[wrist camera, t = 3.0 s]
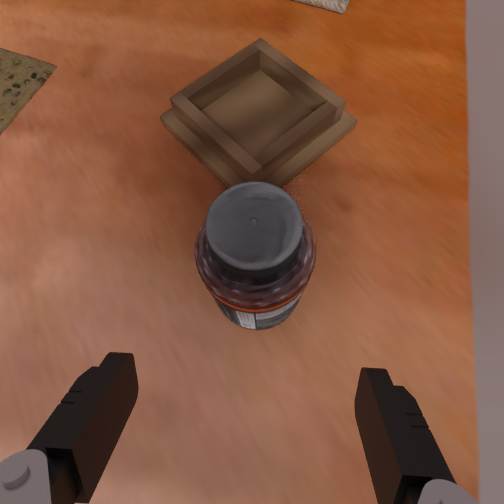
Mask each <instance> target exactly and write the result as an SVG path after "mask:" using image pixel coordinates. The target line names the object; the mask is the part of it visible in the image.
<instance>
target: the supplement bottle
mask: <svg viewBox="0 0 504 504" xmlns="http://www.w3.org/2000/svg"><path fill="white" fill-rule="evenodd" d="M195 259H196V265H197V268H198V272H199V274H200V276H201V278H202V280H203V282H204V283H205V285H206V287H207V289H208V290H209V292H210V293H211V295H212V296H213V298H214V299H215V301H216V302H217V304H218V306H219V307H220V309H221V310H222V312H223V313H224V314H225V316H226V317H227V318H228V319H230V320H231V321H232V322H233V323H235V324H237V325H239V326H241V327H244V328H246V329H251V330H265V329H269V328H272V327H274V326H276V325H279V324H280V323H281V322H283V321H284V320H285V319H286V318H287V317H288V316H289V315H290V314H291V313H292V312H293V310H294V309H295V307H296V305H297V303H298V301H299V299H300V297H301V295H302V293H303V291H304V289H305V287H306V285H307V283H308V281H309V279H310V276H311V274H312V271H313V268H314V264H315V259H316V243H315V238H314V235H313V232H312V229H311V227H310V225H309V223H308V222H307V220H306V218H305V217H304V216H303V215H302V214H301V211H300V209H299V207H298V205H297V203H296V202H295V200H294V199H293V198H292V197H291V196H290V195H289V194H288V193H287V192H286V191H284V190H283V189H281V188H279V187H277V186H275V185H273V184H269V183H265V182H257V181H254V182H252V181H250V182H244V183H240V184H237V185H235V186H232V187H230V188H228V189H227V190H225V191H224V192H222V193H221V194H220V195H219V196H218V197H217V198H216V199H215V200H214V202H213V203H212V205H211V206H210V208H209V211H208V214H207V217H206V219H205V221H204V222H203V224H202V226H201V228H200V230H199V232H198V235H197V238H196V244H195Z"/></svg>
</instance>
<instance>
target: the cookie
mask: <svg viewBox="0 0 504 504" xmlns="http://www.w3.org/2000/svg"><path fill="white" fill-rule="evenodd" d="M56 68H57V66H55V65H53V64H50V63H47V62H44V61H40V60H37V59H34V58H31V57H29V56H24V55H20V54H17V53H15V52H10V51H8V50H5V49H1V48H0V135H1V134H2V132H3V131H4V130H5V129H6V128H7V127H8V126H9V124H11V123H12V121H13V120H14V118H15V117H16V116H17V114H18V113H19V112H20V111H21V110H22V109H23V107H24V106H25V105H26V104H27V103H28V101H29V100H30V99H31V98H32V96H33V95H34V94H35V93H36V92H37V91H38V90H39V89H40V88H41V87H42V86H43V84H44V83H45V81H46V80H47V79H48V78H49V77H50V75H51V74H52V73H53V71H54V70H55V69H56Z"/></svg>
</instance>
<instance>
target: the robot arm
mask: <svg viewBox="0 0 504 504" xmlns="http://www.w3.org/2000/svg"><path fill="white" fill-rule="evenodd" d="M137 396H138V380H137V374H136V368H135V362H134V356H133V354H132V353H118V352H110V353H108V354H107V355H106V357H105V358H104V360H103V361H102V363H101V364H100V366H99V367H93V366H92V367H91V368H90V369H88V370H87V371H86V372H84V373H83V374H82V375H81V376H79V377H78V378H77V380H76V381H75V382H74V384H73V385H72V387H71V388H70V389H69V392H68V393H67V394H66V395H65V396H64V398H63V399H62V400H61V404H59V405H58V406H57V407H56V409H55V410H54V412H53V413H52V414H51V416H50V417H49V418H48V420H47V421H46V423H45V424H44V425H43V427H42V428H41V430H40V431H39V432H38V434H37V435H36V436H35V438H34V439H33V441H32V442H31V443H30V445H29V446H28V447H27V448H26V450H24V451H20V452H18V453H15V454H13V455H11V456H9V457H8V458H6V459H5V460H3V461H2V462H1V463H0V504H74V503H87V504H89V502H90V499H91V497H92V495H93V493H94V491H95V489H96V487H97V484H98V482H99V480H100V478H101V476H102V474H103V472H104V469H105V467H106V465H107V463H108V461H109V459H110V457H111V454H112V452H113V450H114V448H115V446H116V444H117V442H118V439H119V437H120V435H121V433H122V431H123V429H124V427H125V425H126V422H127V420H128V418H129V416H130V414H131V412H132V410H133V407H134V405H135V403H136V400H137ZM355 417H356V421H357V425H358V429H359V433H360V436H361V440H362V444H363V448H364V452H365V456H366V459H367V463H368V467H369V471H370V475H371V478H372V482H373V486H374V490H375V494H376V498H377V501H378V504H478V502H477V501H476V500H475V499H474V498H473V497H472V496H471V495H470V494H469V493H468V492H467V491H466V490H464V489H463V488H462V487H460V486H458V485H457V483H456V482H455V480H454V478H453V476H452V474H451V472H450V470H449V468H448V466H447V464H446V462H445V460H444V457H443V455H442V453H441V451H440V449H439V447H438V445H437V443H436V441H435V439H434V437H433V435H432V433H431V431H430V430H429V428H428V427H429V426H428V424H427V422H426V420H425V418H424V417H423V416H422V412H421V410H420V408H419V406H418V404H417V402H416V400H415V398H414V397H413V396H412V395H411V394H410V393H409V392H408V391H407V390H406V389H405V388H404V387H403V386H394V385H393V383H392V381H391V379H390V376H389V374H388V372H387V370H386V369H381V368H364V367H363V368H362V369H361V372H360V377H359V382H358V387H357V392H356V396H355Z"/></svg>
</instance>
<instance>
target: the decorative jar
mask: <svg viewBox="0 0 504 504" xmlns="http://www.w3.org/2000/svg"><path fill="white" fill-rule="evenodd" d="M293 1H296V2H300V3H304V4H308V5H312V6H316V7H321V8H324V9H327V10H330V11H335V12H338V13H340V14H341V13H344V12H345V10H346V8H347V6H348V4H349V1H350V0H293Z"/></svg>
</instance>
